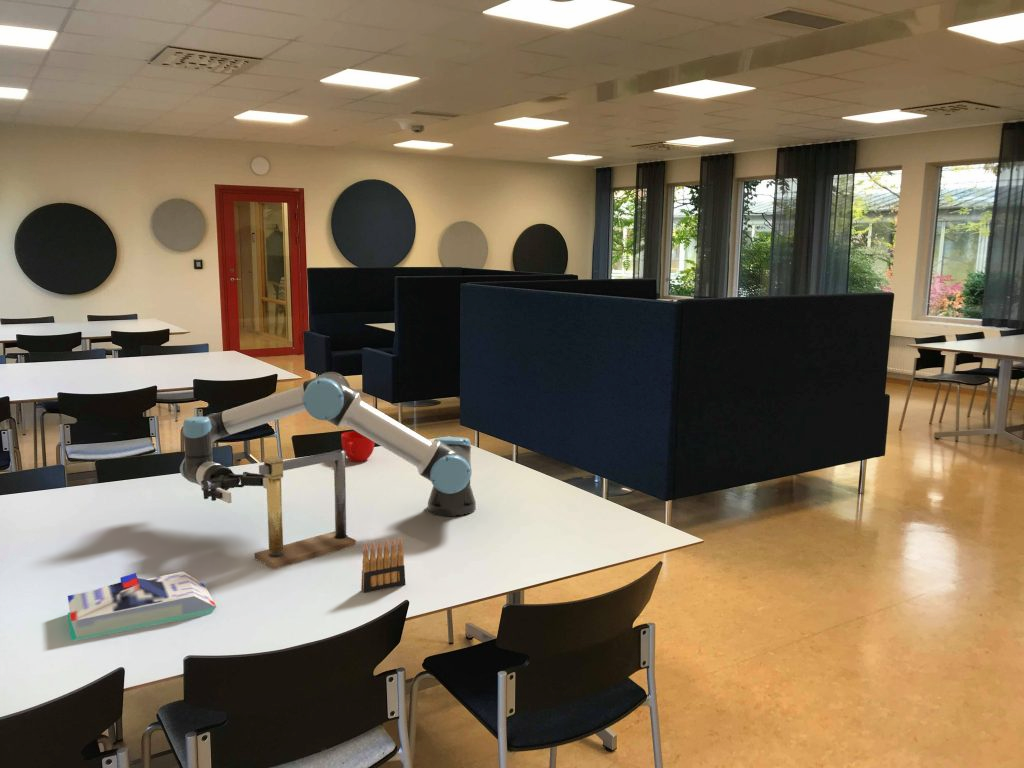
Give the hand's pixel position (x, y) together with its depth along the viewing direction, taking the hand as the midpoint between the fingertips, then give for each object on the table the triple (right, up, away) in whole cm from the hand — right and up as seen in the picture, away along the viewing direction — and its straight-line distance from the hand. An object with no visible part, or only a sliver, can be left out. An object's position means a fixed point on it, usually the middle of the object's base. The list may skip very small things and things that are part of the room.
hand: (253, 492), depth 218 cm
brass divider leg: (+7, -15, -4) cm, 17 cm away
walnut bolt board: (+13, -16, +2) cm, 21 cm away
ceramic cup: (+9, -1, +97) cm, 98 cm away
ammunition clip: (+38, -21, -20) cm, 47 cm away
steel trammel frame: (+13, -15, +2) cm, 20 cm away
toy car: (-14, -23, -36) cm, 45 cm away
